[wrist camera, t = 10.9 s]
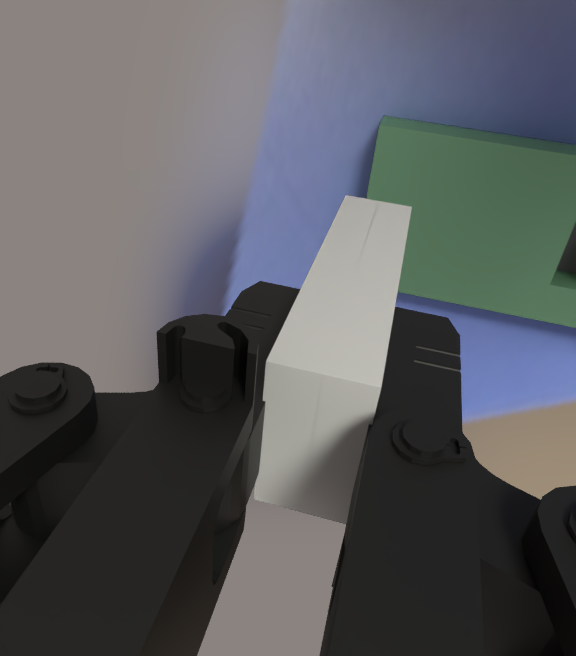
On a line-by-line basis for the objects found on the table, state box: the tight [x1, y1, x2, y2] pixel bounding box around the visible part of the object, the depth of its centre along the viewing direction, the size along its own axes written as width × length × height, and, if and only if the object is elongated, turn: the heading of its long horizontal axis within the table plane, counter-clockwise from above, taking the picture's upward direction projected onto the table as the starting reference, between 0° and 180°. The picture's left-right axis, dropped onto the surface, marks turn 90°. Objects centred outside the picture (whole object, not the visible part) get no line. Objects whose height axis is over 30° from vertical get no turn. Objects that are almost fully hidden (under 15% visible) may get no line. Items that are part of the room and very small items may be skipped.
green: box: [366, 116, 576, 328], centre depth 39 cm, size 12×22×3 cm, turn 84°
